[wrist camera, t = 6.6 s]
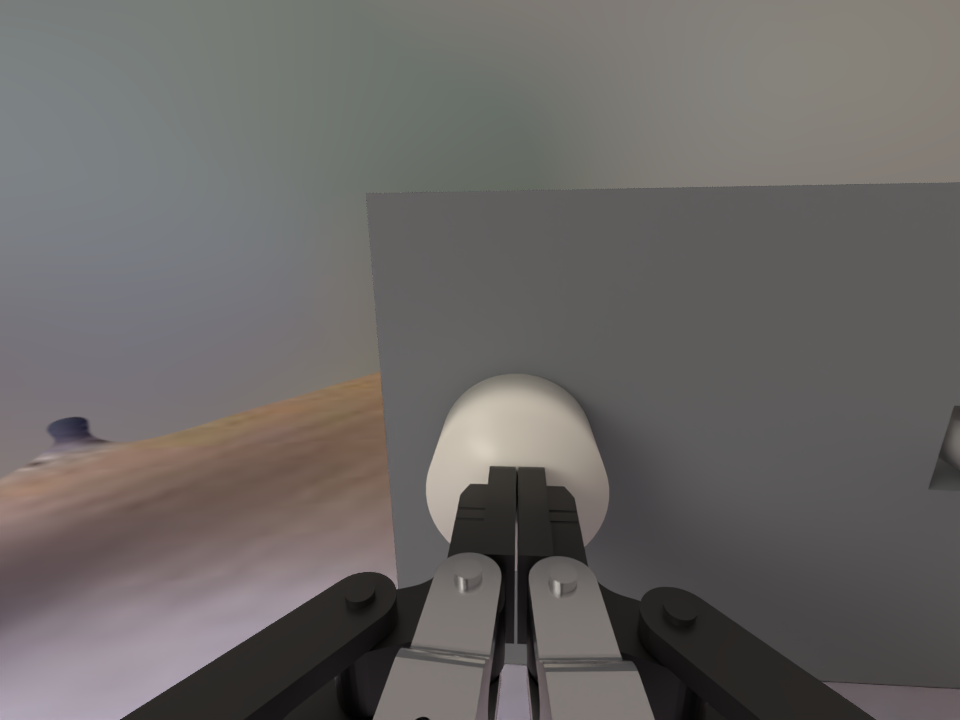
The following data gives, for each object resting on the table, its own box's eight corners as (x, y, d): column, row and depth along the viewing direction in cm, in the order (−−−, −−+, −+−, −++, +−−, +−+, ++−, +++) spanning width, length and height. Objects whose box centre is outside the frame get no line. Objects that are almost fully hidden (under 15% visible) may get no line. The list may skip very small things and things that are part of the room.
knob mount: (1037, 692, 18) (1274, 176, 12) (404, 657, 19) (366, 193, 14) (873, 541, 26) (972, 190, 20) (437, 526, 27) (420, 199, 22)
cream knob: (603, 574, 13) (615, 413, 12) (429, 567, 14) (421, 410, 12) (566, 420, 23) (570, 321, 22) (465, 418, 24) (463, 321, 22)
